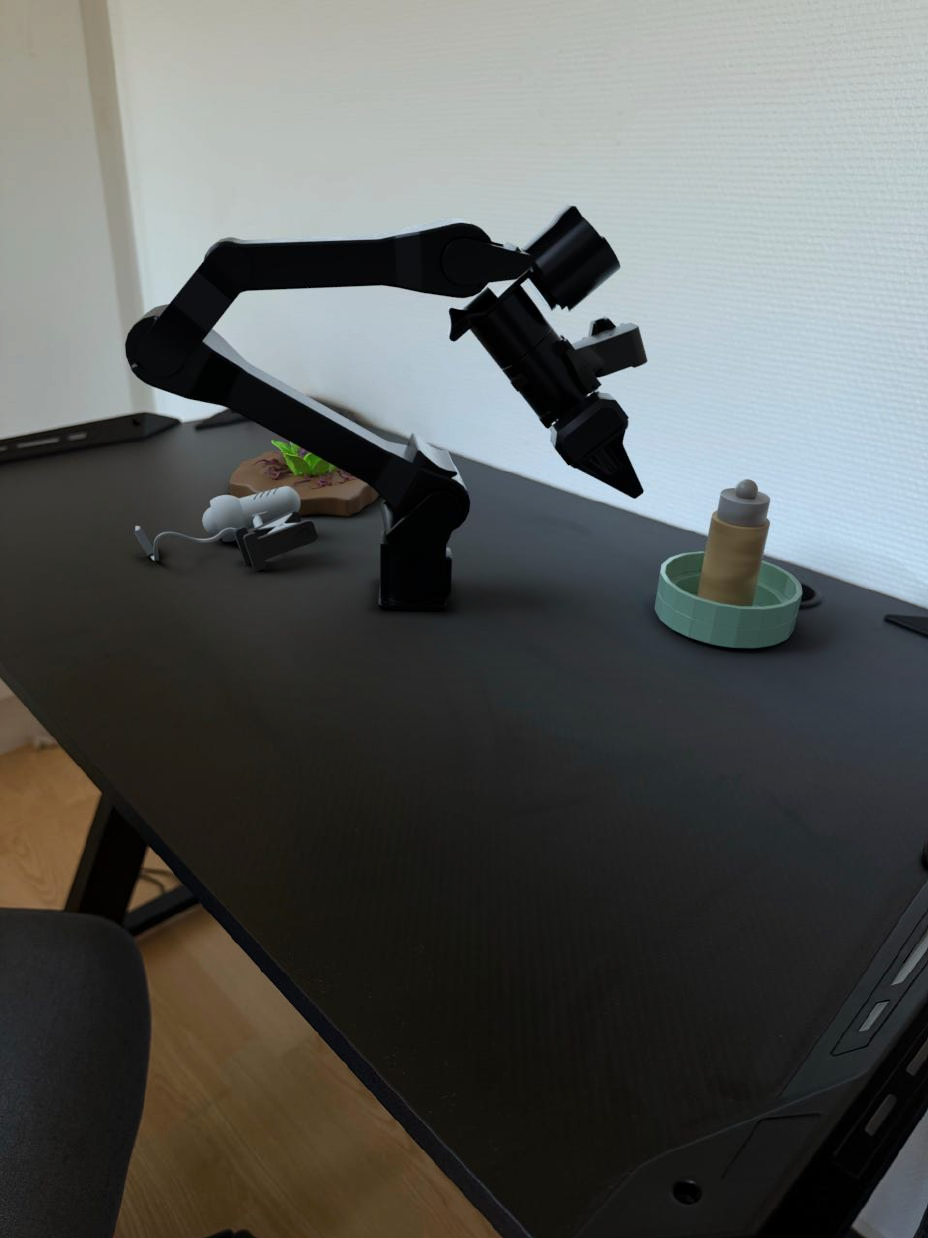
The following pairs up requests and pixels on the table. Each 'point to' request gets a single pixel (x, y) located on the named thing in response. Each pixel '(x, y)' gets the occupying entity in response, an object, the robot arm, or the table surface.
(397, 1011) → the table surface
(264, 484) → the plant
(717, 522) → the pepper mill
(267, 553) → the clip-on lamp
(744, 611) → the green shallow bowl
